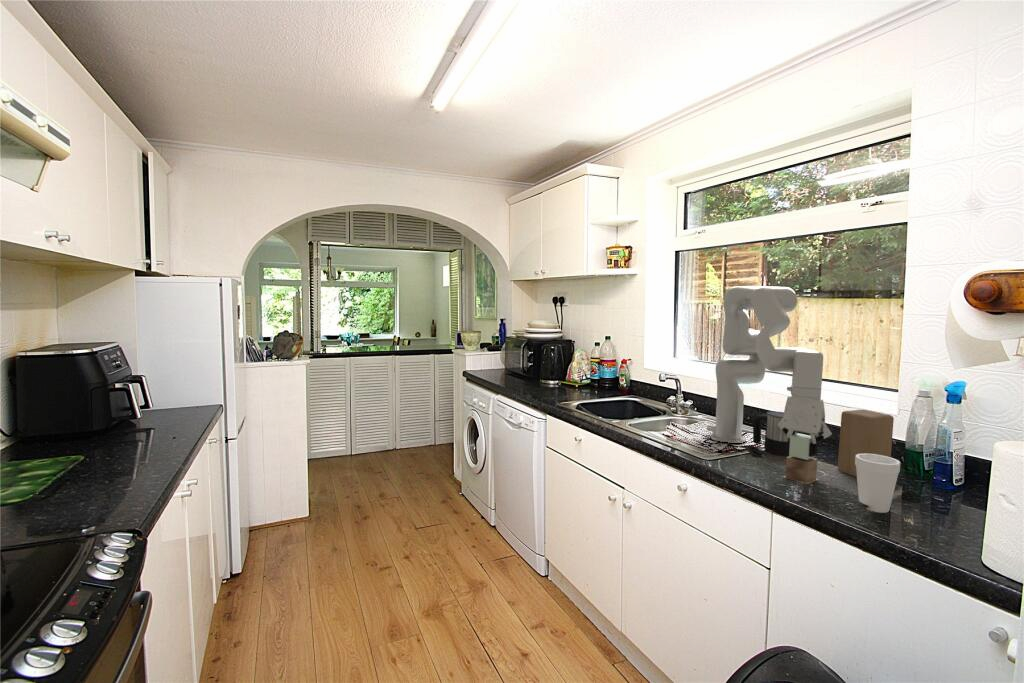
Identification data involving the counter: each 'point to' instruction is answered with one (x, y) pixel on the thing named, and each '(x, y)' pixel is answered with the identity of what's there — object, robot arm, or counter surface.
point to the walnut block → (801, 469)
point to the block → (863, 437)
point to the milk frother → (769, 435)
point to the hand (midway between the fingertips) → (802, 452)
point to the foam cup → (876, 480)
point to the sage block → (800, 446)
